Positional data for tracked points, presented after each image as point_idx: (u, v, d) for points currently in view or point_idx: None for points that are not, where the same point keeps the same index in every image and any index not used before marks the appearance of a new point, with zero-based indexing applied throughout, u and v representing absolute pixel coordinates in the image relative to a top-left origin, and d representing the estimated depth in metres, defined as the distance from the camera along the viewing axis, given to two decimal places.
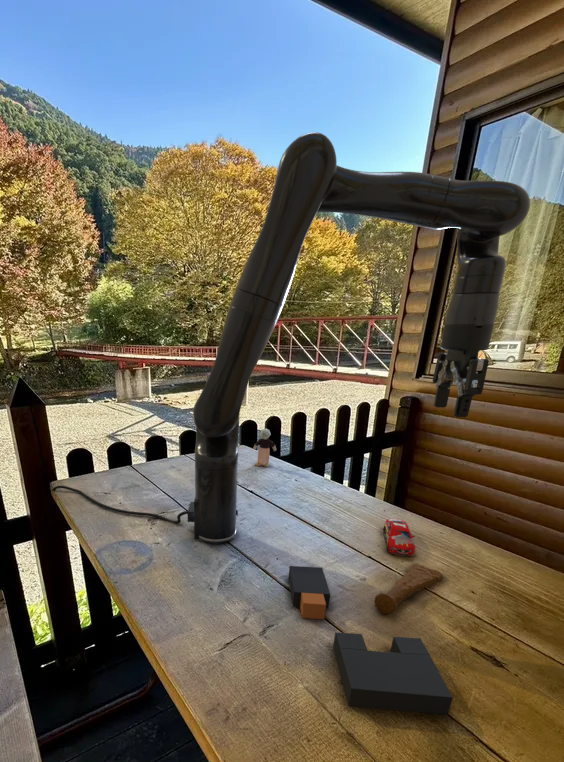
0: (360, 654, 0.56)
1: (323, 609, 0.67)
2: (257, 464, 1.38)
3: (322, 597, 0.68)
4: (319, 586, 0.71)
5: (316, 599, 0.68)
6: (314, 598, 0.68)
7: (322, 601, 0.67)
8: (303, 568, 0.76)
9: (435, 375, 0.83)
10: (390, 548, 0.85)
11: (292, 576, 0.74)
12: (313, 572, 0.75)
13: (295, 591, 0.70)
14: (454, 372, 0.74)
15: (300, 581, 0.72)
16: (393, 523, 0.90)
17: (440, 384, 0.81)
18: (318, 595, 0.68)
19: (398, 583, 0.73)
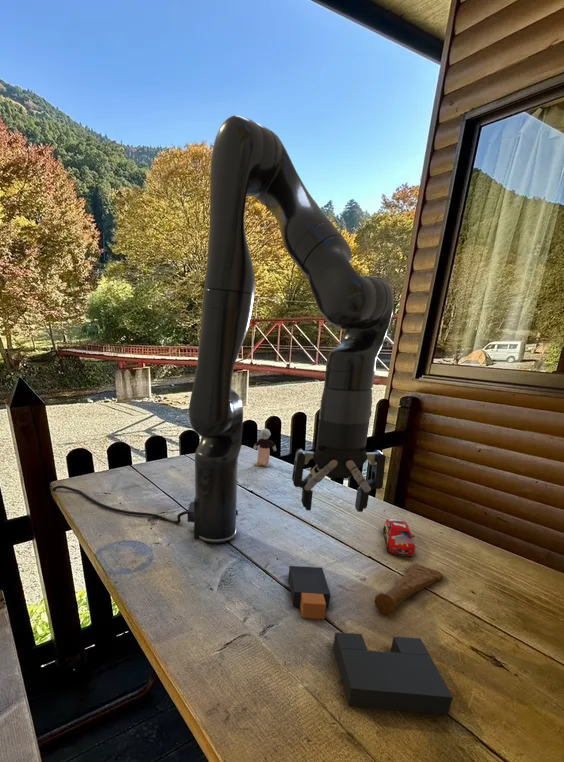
0: (360, 654, 0.56)
1: (323, 609, 0.67)
2: (257, 464, 1.38)
3: (322, 597, 0.68)
4: (319, 586, 0.71)
5: (316, 599, 0.68)
6: (314, 598, 0.68)
7: (322, 601, 0.67)
8: (303, 568, 0.76)
9: None
10: (390, 548, 0.85)
11: (292, 576, 0.74)
12: (313, 572, 0.75)
13: (295, 591, 0.70)
14: None
15: (300, 581, 0.72)
16: (393, 523, 0.90)
17: (358, 483, 0.69)
18: (318, 595, 0.68)
19: (398, 583, 0.73)
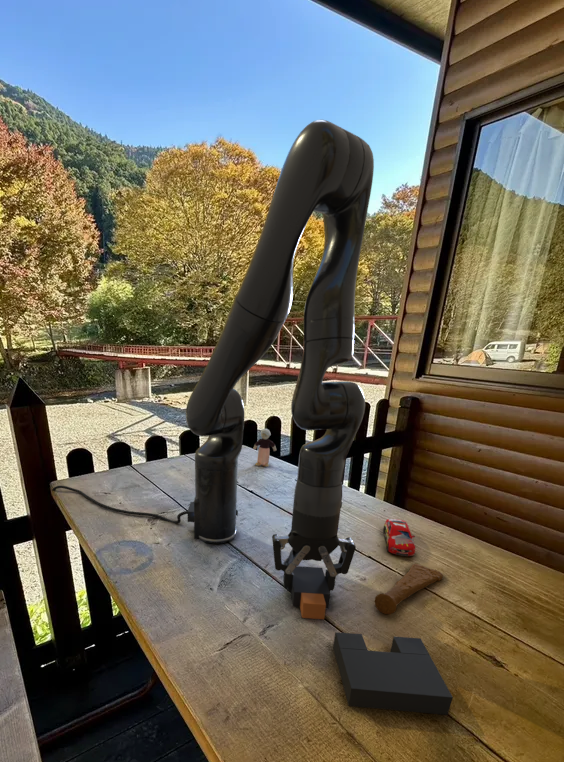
0: (360, 654, 0.56)
1: (323, 609, 0.67)
2: (257, 464, 1.38)
3: (322, 597, 0.68)
4: (319, 586, 0.71)
5: (316, 599, 0.68)
6: (314, 598, 0.68)
7: (322, 601, 0.67)
8: (303, 568, 0.76)
9: None
10: (390, 548, 0.85)
11: None
12: (313, 572, 0.75)
13: (295, 591, 0.70)
14: None
15: (300, 581, 0.72)
16: (393, 523, 0.90)
17: None
18: (318, 595, 0.68)
19: (398, 583, 0.73)
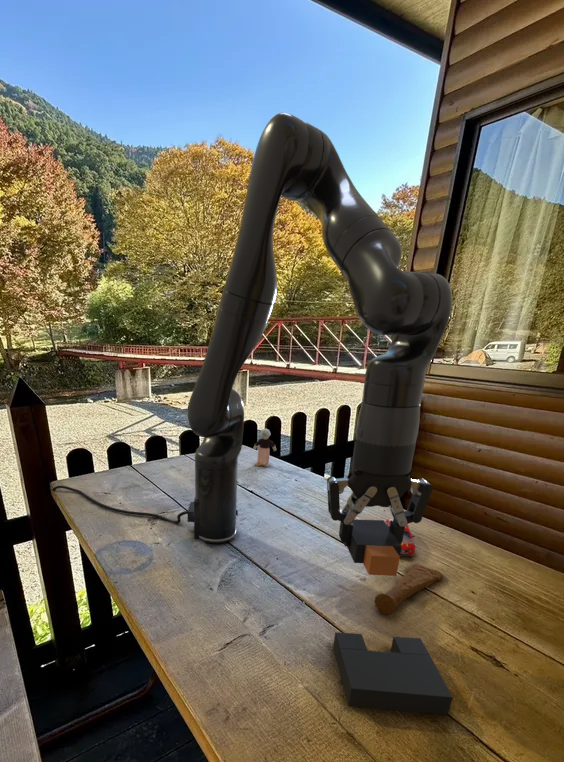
0: (360, 654, 0.56)
1: (396, 563, 0.54)
2: (257, 464, 1.38)
3: (393, 549, 0.56)
4: (386, 538, 0.58)
5: (386, 551, 0.55)
6: (384, 551, 0.55)
7: (394, 553, 0.55)
8: (361, 521, 0.64)
9: None
10: None
11: None
12: (374, 525, 0.62)
13: (358, 544, 0.57)
14: None
15: (361, 534, 0.60)
16: None
17: None
18: (387, 547, 0.56)
19: (398, 583, 0.73)
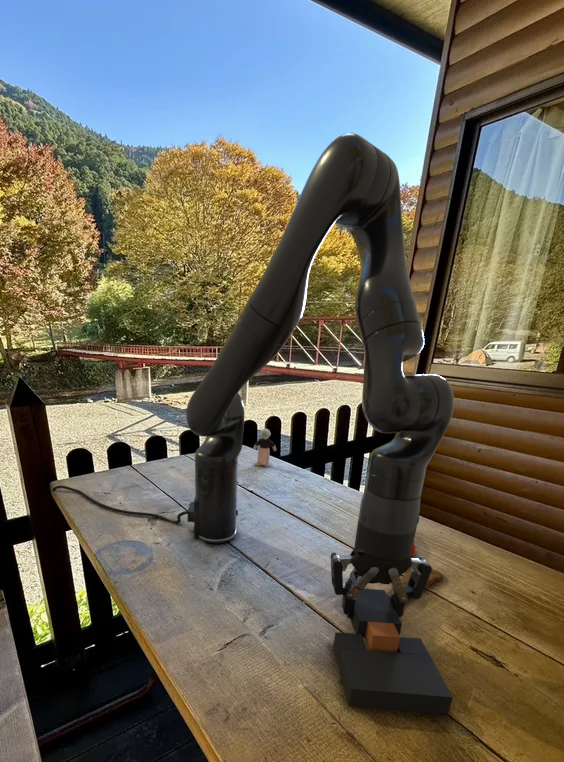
0: (360, 654, 0.56)
1: (396, 642, 0.57)
2: (257, 464, 1.38)
3: (393, 628, 0.58)
4: (387, 613, 0.61)
5: (387, 630, 0.58)
6: (385, 629, 0.58)
7: (395, 633, 0.57)
8: (363, 591, 0.66)
9: None
10: None
11: None
12: (376, 596, 0.65)
13: (360, 620, 0.60)
14: None
15: (363, 607, 0.62)
16: None
17: None
18: (388, 625, 0.59)
19: None
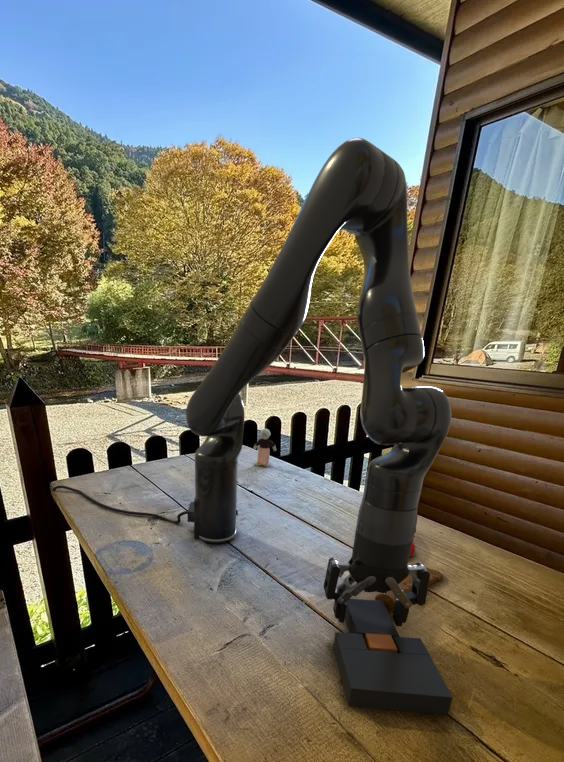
0: (360, 654, 0.56)
1: None
2: (257, 464, 1.38)
3: (391, 639, 0.59)
4: (384, 625, 0.62)
5: (385, 642, 0.58)
6: (382, 641, 0.59)
7: (392, 645, 0.58)
8: (361, 601, 0.67)
9: None
10: None
11: (350, 612, 0.65)
12: (374, 607, 0.65)
13: (358, 631, 0.61)
14: None
15: (361, 619, 0.63)
16: None
17: None
18: (386, 637, 0.59)
19: None
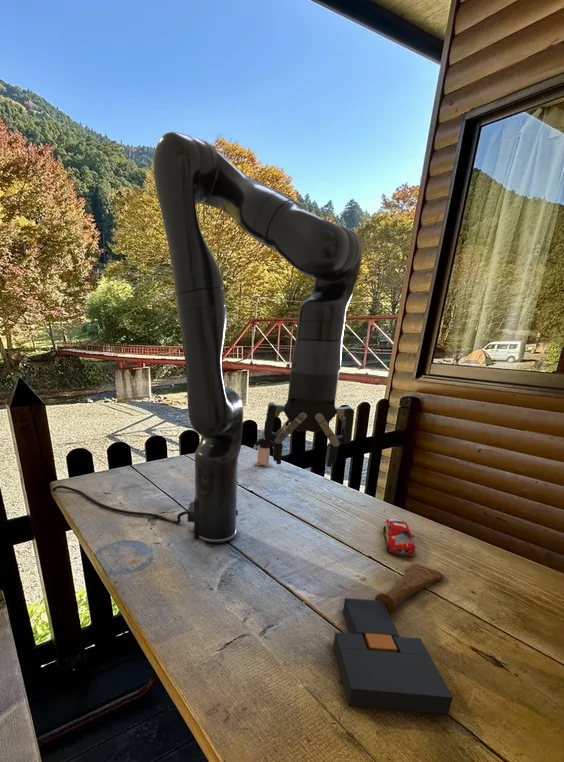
0: (360, 654, 0.56)
1: None
2: (257, 464, 1.38)
3: (391, 639, 0.59)
4: (384, 625, 0.62)
5: (385, 642, 0.58)
6: (382, 641, 0.59)
7: (392, 645, 0.58)
8: (361, 601, 0.67)
9: None
10: (390, 548, 0.85)
11: (350, 612, 0.65)
12: (374, 607, 0.65)
13: (358, 631, 0.61)
14: None
15: (361, 619, 0.63)
16: (393, 523, 0.90)
17: None
18: (386, 637, 0.59)
19: (398, 583, 0.73)
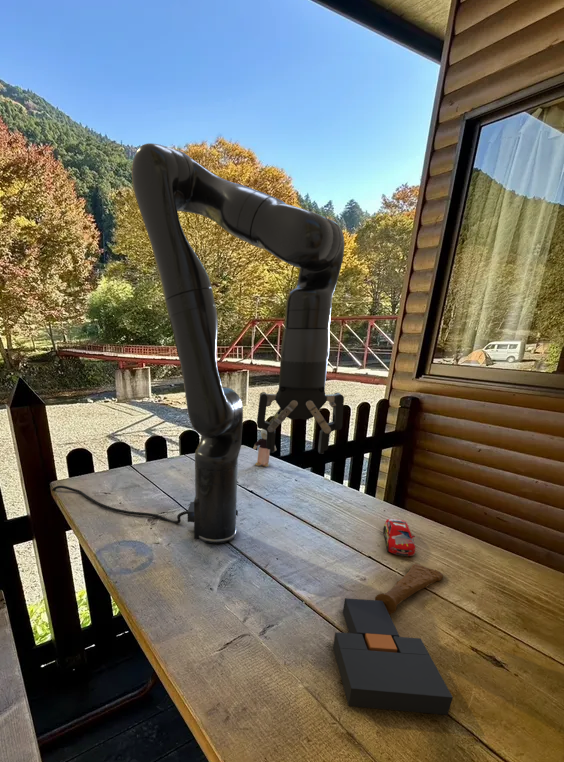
0: (360, 654, 0.56)
1: None
2: (257, 464, 1.38)
3: (391, 639, 0.59)
4: (384, 625, 0.62)
5: (385, 642, 0.58)
6: (382, 641, 0.59)
7: (392, 645, 0.58)
8: (361, 601, 0.67)
9: None
10: (390, 548, 0.85)
11: (350, 612, 0.65)
12: (374, 607, 0.65)
13: (358, 631, 0.61)
14: None
15: (361, 619, 0.63)
16: (393, 523, 0.90)
17: None
18: (386, 637, 0.59)
19: (398, 583, 0.73)
